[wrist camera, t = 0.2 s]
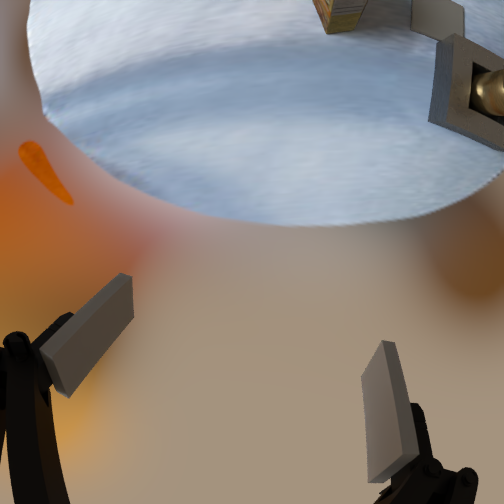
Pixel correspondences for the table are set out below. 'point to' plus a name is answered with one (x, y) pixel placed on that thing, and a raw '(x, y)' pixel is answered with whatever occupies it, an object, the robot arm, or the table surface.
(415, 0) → the mat
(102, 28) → the table surface
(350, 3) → the candy box
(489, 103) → the gold metallic cylinder
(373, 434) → the robot arm
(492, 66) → the housing
